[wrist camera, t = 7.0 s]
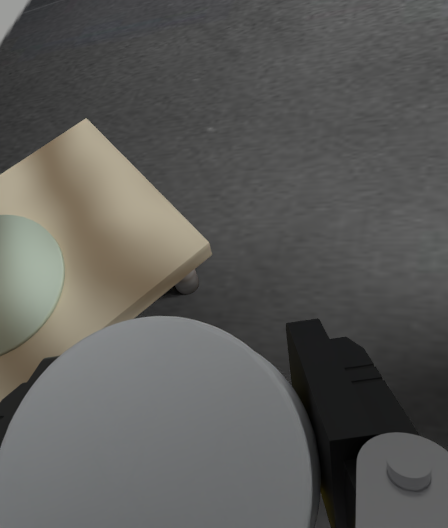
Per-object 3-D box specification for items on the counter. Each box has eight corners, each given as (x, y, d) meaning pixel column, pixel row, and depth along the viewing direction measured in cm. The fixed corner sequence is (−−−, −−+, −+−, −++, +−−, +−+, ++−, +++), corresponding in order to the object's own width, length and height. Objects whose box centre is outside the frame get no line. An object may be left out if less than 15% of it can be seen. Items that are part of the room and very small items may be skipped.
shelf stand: (116, 175, 31) (83, 113, 25) (218, 284, 27) (208, 238, 21) (-132, 351, 27) (-241, 325, 21) (-56, 513, 22) (-165, 538, 17)
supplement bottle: (303, 391, 13) (364, 316, 5) (286, 565, 11) (340, 825, 4) (160, 366, 14) (36, 267, 6) (122, 526, 12) (-124, 674, 4)
